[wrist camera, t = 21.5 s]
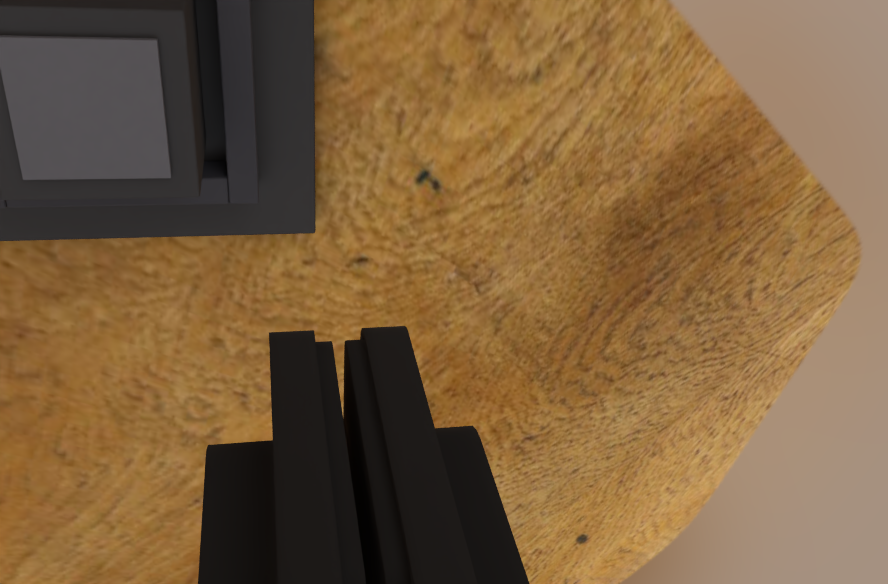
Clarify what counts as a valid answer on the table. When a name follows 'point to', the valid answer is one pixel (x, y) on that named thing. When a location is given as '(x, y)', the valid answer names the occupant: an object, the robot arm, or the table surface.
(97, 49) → the small cube
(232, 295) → the table surface
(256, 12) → the base pad
